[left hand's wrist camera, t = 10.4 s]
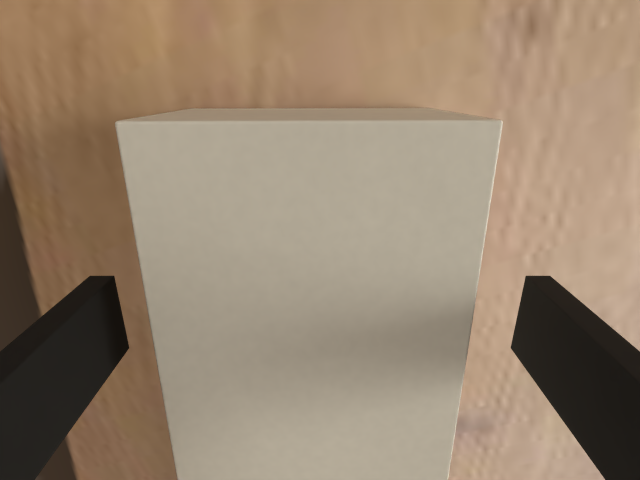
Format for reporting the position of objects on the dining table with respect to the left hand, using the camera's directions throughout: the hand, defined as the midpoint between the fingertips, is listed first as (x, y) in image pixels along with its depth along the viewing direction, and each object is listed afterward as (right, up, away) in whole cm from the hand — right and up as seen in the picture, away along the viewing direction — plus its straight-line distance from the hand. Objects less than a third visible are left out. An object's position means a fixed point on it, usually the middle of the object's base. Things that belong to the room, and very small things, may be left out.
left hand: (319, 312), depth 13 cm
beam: (0, -22, +14) cm, 26 cm away
